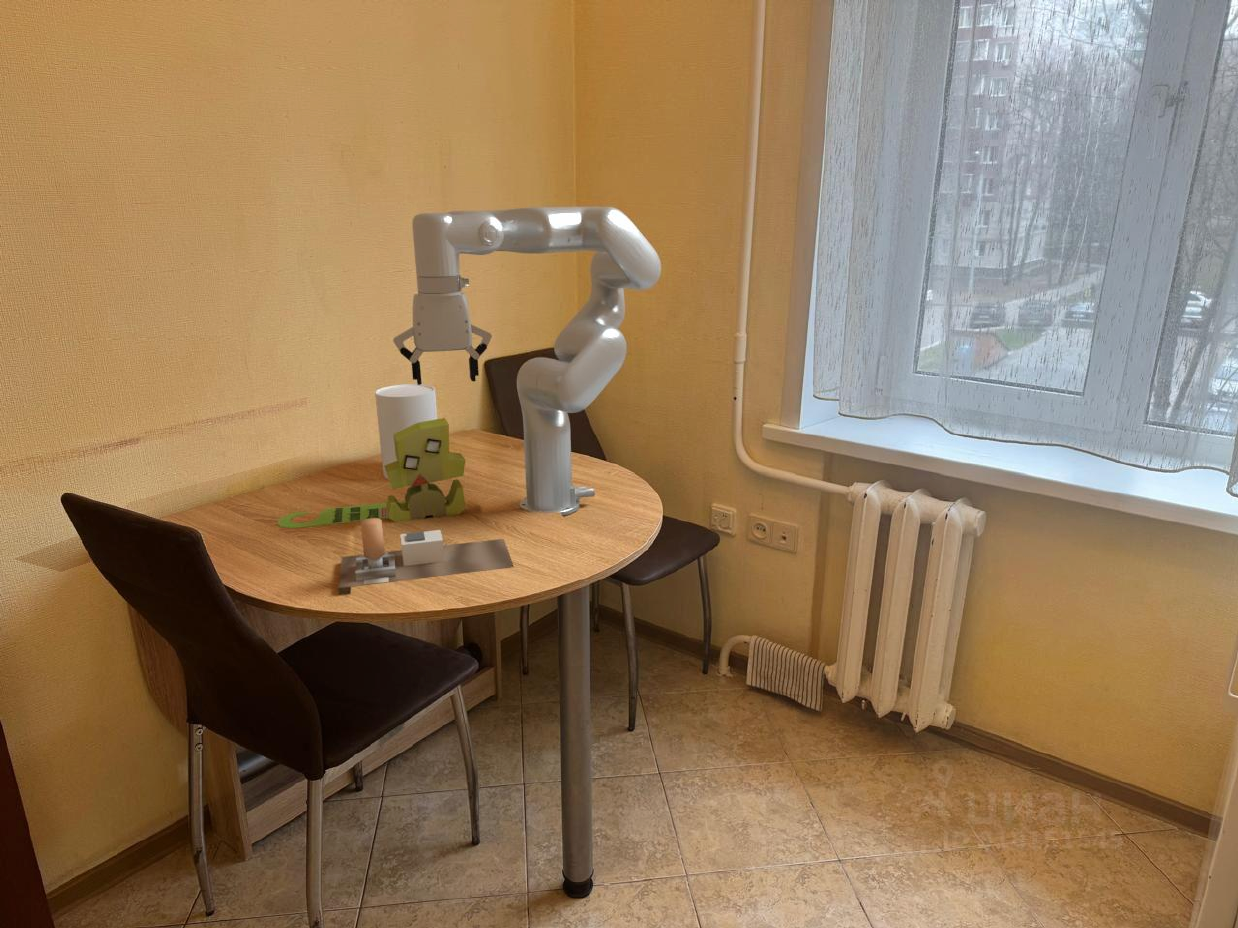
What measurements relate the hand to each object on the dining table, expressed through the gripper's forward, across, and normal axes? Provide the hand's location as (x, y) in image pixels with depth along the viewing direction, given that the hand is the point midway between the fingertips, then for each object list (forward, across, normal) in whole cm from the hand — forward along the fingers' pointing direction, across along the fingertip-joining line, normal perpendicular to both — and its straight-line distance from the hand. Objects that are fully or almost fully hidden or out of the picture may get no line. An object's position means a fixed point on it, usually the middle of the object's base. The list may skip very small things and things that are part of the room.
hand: (446, 381), depth 151 cm
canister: (+31, +7, -43) cm, 53 cm away
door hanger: (+31, +22, -18) cm, 42 cm away
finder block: (+29, +7, +12) cm, 32 cm away
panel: (+30, +6, +14) cm, 34 cm away
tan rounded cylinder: (+29, +15, +15) cm, 36 cm away
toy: (+31, +5, -11) cm, 33 cm away
